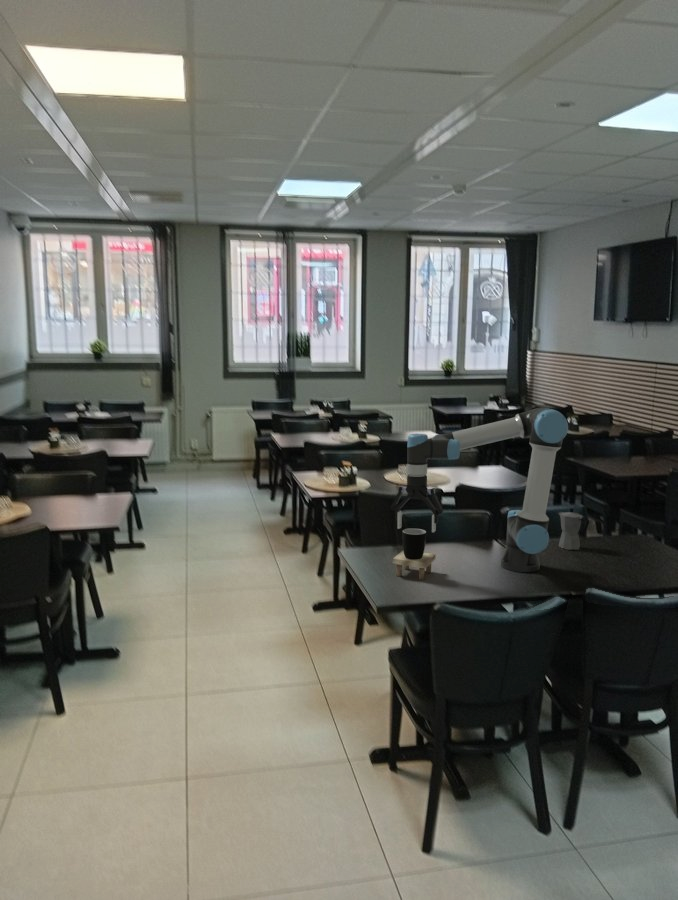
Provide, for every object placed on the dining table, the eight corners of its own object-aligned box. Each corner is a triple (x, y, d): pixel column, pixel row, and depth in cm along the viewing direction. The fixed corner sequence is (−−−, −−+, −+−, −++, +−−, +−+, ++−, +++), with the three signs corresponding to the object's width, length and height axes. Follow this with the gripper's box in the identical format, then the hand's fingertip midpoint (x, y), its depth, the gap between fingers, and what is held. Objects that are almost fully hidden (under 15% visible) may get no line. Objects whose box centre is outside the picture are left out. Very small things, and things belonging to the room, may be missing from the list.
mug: (428, 560, 266) (429, 534, 264) (405, 561, 264) (405, 534, 263) (419, 551, 277) (420, 526, 276) (397, 552, 276) (397, 526, 274)
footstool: (434, 571, 275) (435, 554, 274) (425, 581, 263) (425, 563, 262) (403, 567, 280) (403, 549, 279) (392, 576, 268) (392, 558, 267)
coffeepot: (550, 546, 313) (552, 506, 311) (562, 543, 319) (565, 504, 316) (580, 554, 301) (583, 513, 298) (593, 551, 307) (595, 510, 304)
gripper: (452, 475, 264) (451, 530, 267) (389, 471, 274) (388, 524, 277) (446, 478, 257) (445, 535, 260) (382, 474, 267) (382, 528, 270)
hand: (416, 529), depth 269 cm, fingers open, 13 cm apart
